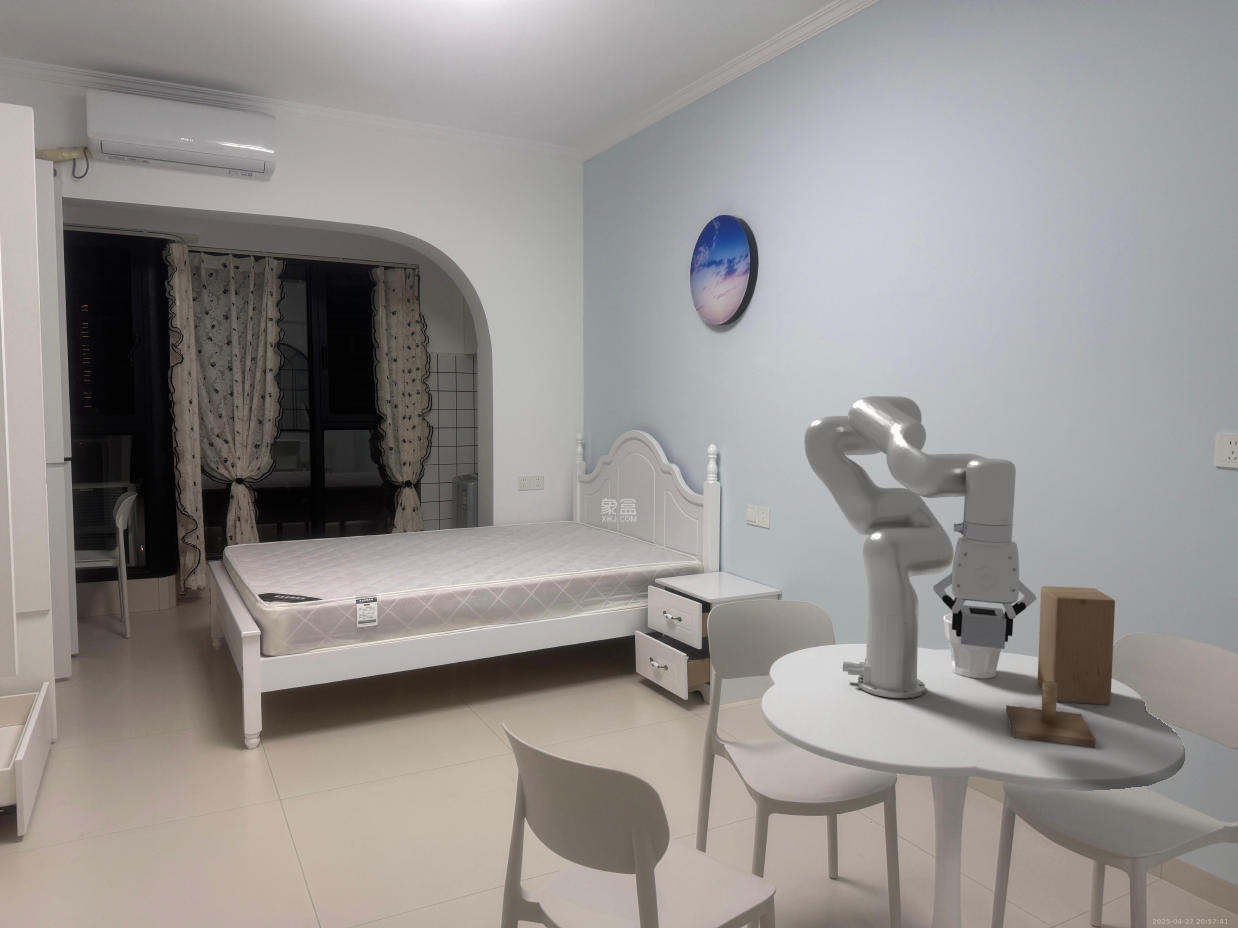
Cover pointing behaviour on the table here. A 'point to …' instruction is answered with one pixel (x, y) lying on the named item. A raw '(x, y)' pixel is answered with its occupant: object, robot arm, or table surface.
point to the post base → (1049, 732)
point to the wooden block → (1076, 643)
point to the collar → (983, 626)
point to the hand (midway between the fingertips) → (981, 635)
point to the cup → (970, 655)
